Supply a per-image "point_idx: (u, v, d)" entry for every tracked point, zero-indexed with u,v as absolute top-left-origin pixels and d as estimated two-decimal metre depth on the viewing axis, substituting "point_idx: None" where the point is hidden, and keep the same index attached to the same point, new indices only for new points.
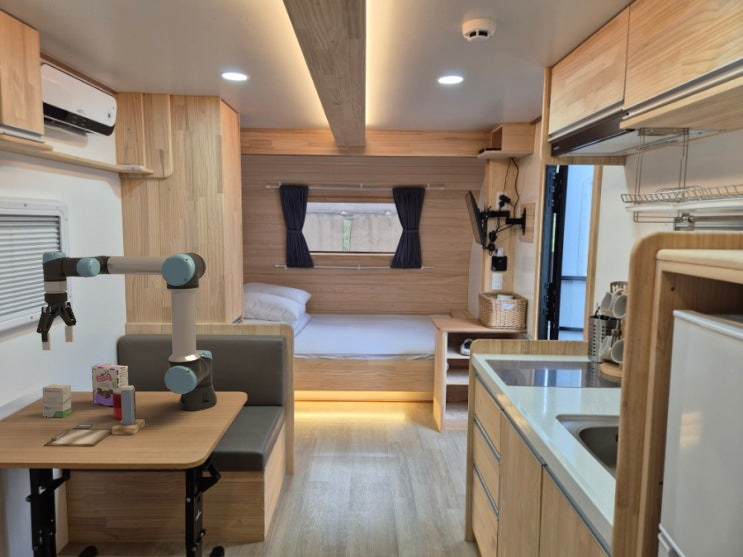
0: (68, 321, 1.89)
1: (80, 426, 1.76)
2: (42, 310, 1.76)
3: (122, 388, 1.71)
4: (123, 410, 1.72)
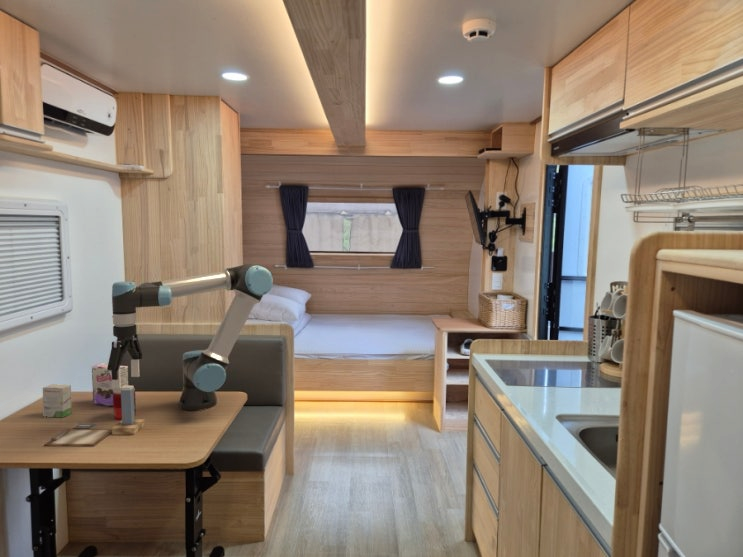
0: (135, 355, 1.77)
1: (80, 426, 1.76)
2: (112, 345, 1.64)
3: (122, 388, 1.71)
4: (123, 410, 1.72)
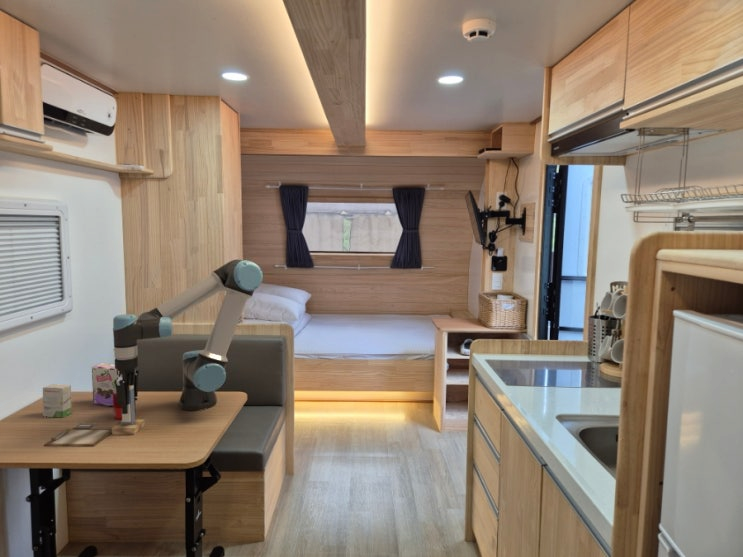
0: None
1: (80, 426, 1.76)
2: (116, 384, 1.66)
3: None
4: None
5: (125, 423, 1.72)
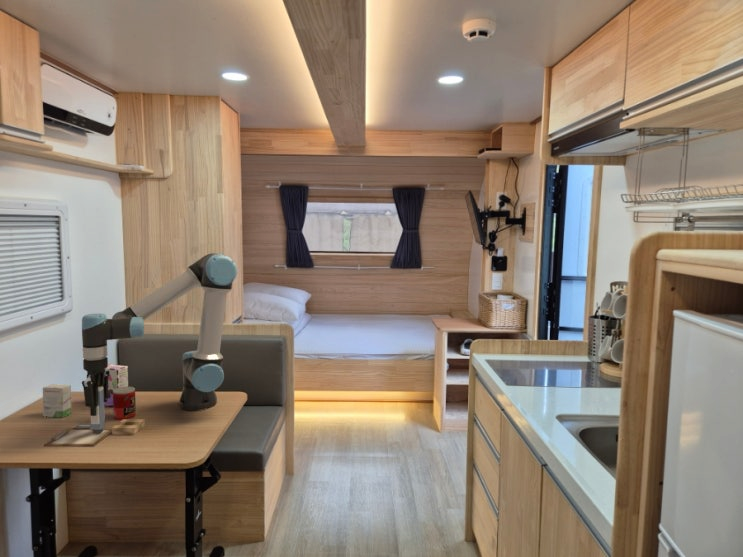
0: None
1: (80, 426, 1.76)
2: (83, 385, 1.62)
3: None
4: None
5: (93, 425, 1.68)
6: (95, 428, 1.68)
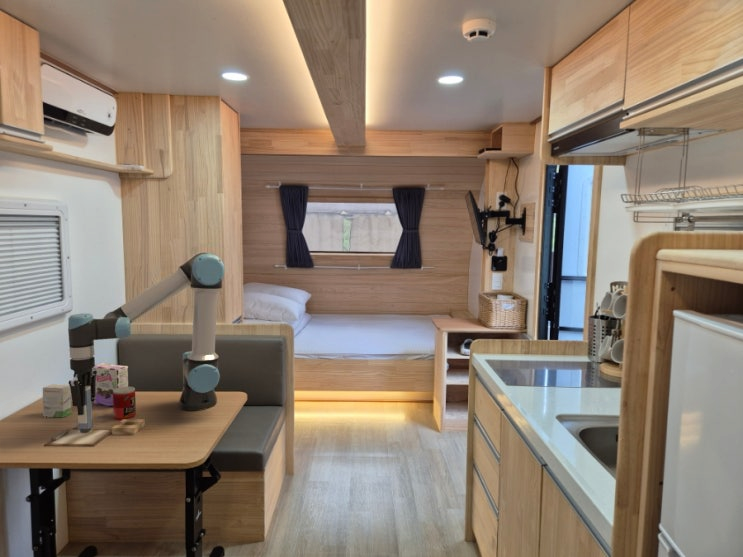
0: None
1: None
2: (70, 385, 1.63)
3: None
4: None
5: (81, 424, 1.69)
6: (82, 427, 1.69)
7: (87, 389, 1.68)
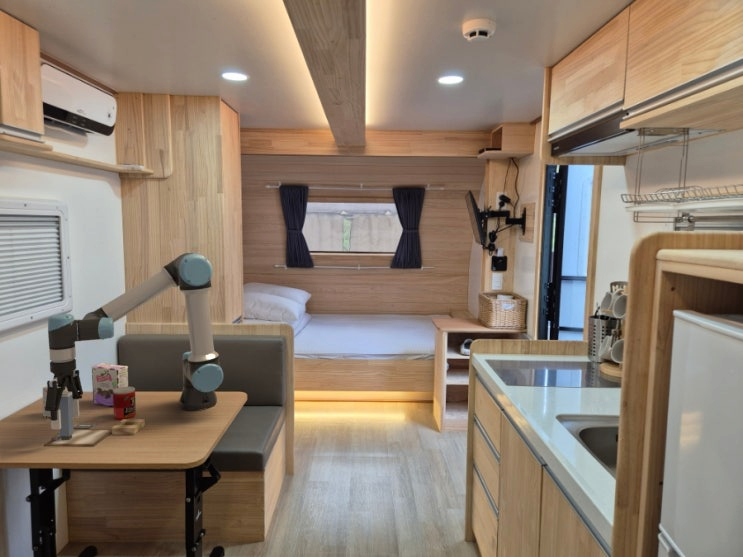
0: (74, 393, 1.68)
1: (80, 426, 1.76)
2: (48, 385, 1.56)
3: None
4: None
5: (62, 432, 1.63)
6: (63, 435, 1.63)
7: (68, 395, 1.63)
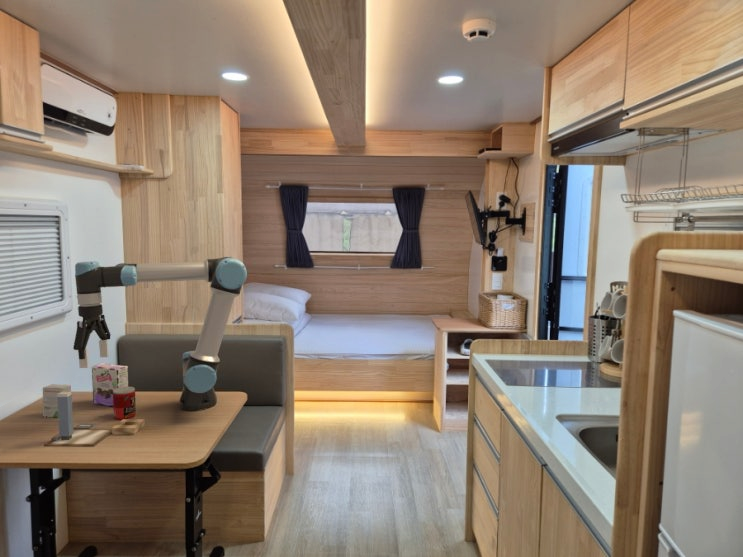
0: (103, 335, 1.77)
1: (80, 426, 1.76)
2: (78, 325, 1.64)
3: (58, 395, 1.62)
4: (60, 418, 1.63)
5: (62, 432, 1.63)
6: (63, 435, 1.63)
7: (68, 395, 1.63)
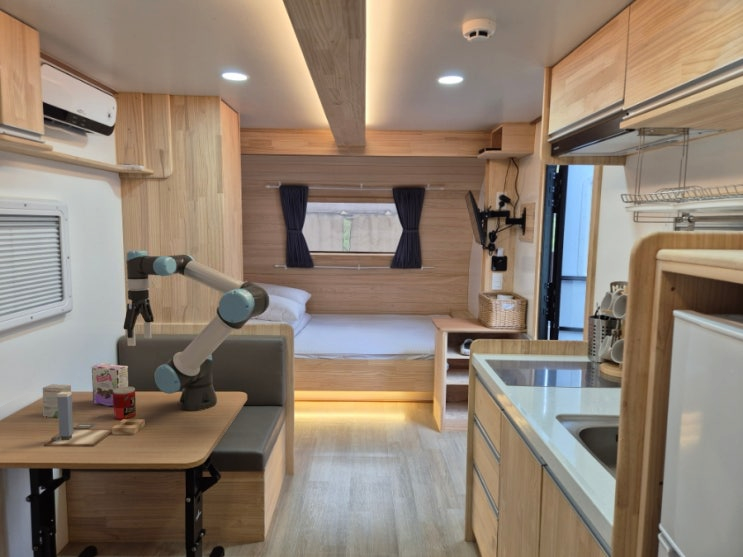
0: (147, 318, 1.95)
1: (80, 426, 1.76)
2: (128, 307, 1.82)
3: (58, 395, 1.62)
4: (60, 418, 1.63)
5: (62, 432, 1.63)
6: (63, 435, 1.63)
7: (68, 395, 1.63)
